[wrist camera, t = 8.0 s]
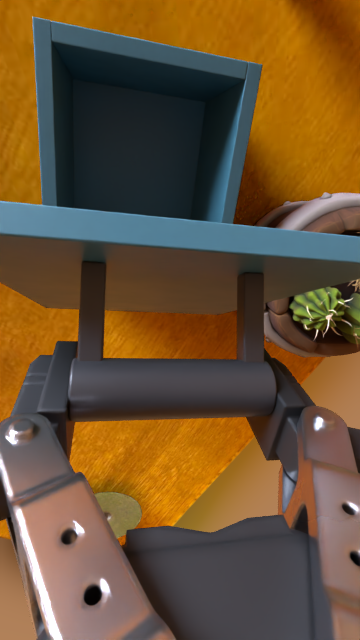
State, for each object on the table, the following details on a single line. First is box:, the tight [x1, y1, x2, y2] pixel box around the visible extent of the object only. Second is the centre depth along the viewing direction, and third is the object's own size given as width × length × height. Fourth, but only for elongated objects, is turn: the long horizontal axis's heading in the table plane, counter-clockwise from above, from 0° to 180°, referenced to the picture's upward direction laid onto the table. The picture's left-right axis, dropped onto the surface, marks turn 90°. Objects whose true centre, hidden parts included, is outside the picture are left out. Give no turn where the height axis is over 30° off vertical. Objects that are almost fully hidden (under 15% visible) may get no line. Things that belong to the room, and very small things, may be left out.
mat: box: [94, 492, 142, 538], centre depth 50 cm, size 11×11×2 cm
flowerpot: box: [255, 193, 360, 357], centre depth 29 cm, size 14×15×20 cm
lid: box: [0, 201, 360, 422], centre depth 16 cm, size 17×13×5 cm
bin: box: [33, 17, 262, 224], centre depth 27 cm, size 16×13×11 cm
